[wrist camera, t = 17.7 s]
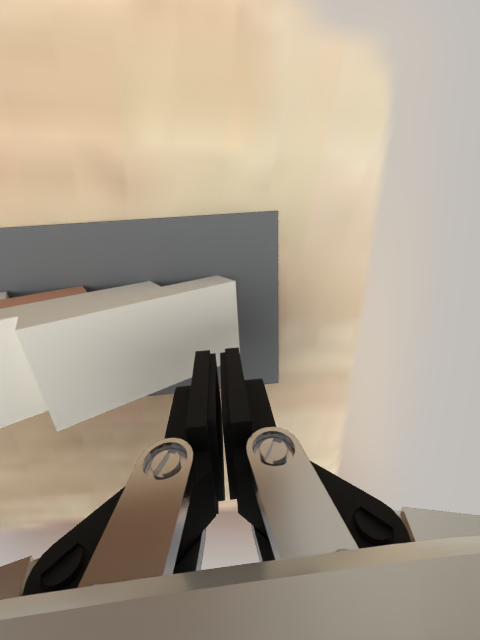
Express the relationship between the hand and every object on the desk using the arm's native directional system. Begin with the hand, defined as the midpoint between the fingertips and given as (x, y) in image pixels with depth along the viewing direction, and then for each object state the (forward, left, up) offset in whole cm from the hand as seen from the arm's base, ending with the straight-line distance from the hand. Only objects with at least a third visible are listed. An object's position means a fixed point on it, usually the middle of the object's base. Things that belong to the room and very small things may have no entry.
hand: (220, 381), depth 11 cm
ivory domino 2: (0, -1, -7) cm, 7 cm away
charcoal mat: (0, +6, -8) cm, 10 cm away
